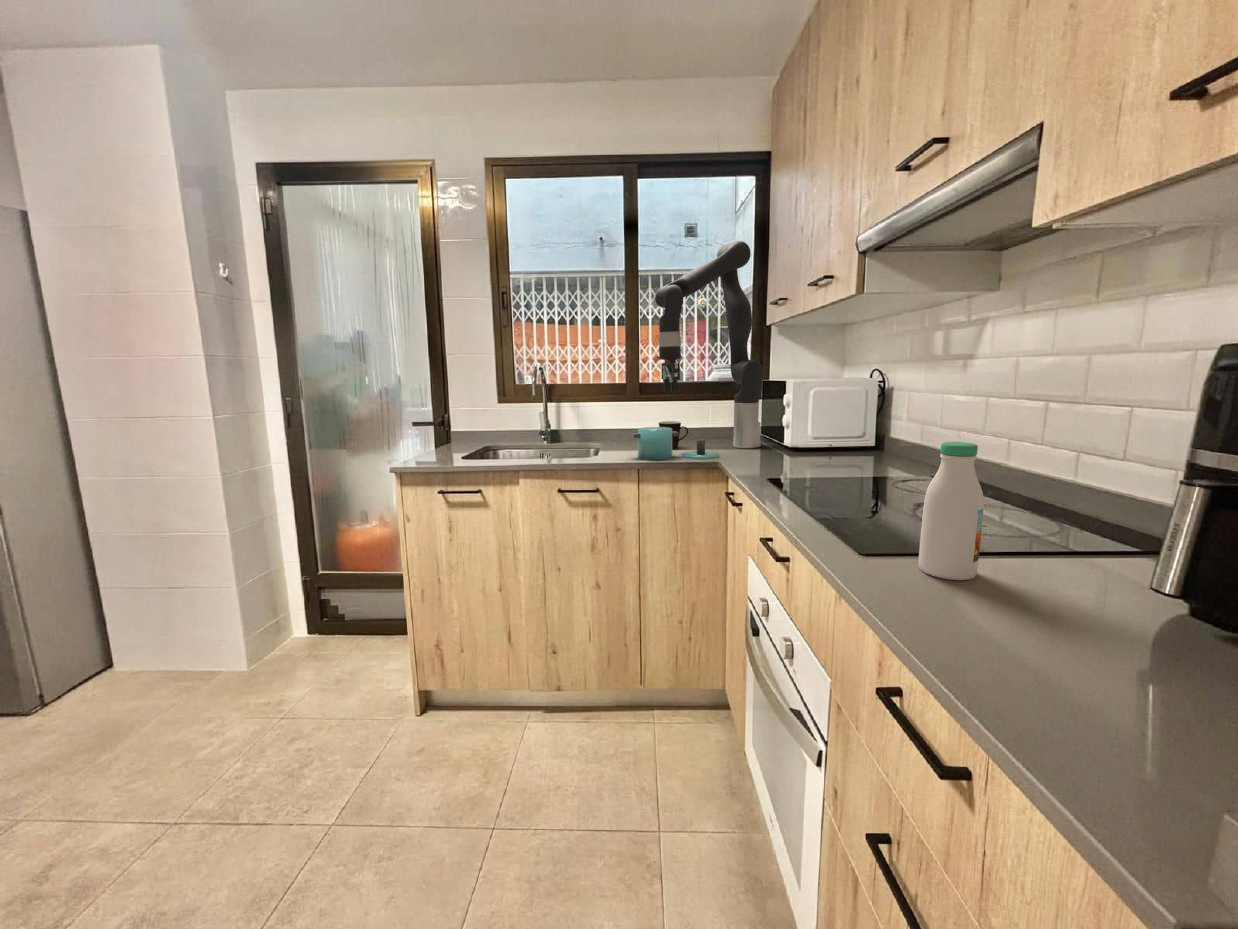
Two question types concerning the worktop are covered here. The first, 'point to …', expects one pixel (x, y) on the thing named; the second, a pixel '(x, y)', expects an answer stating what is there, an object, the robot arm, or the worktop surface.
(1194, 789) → the worktop surface
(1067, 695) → the worktop surface
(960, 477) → the milk bottle
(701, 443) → the lid
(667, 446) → the pot
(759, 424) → the robot arm
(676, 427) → the coffee mug
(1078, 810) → the worktop surface
